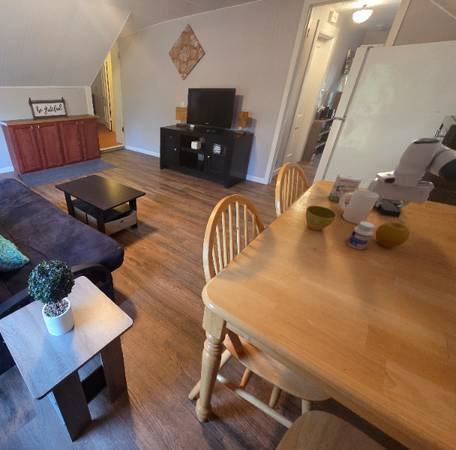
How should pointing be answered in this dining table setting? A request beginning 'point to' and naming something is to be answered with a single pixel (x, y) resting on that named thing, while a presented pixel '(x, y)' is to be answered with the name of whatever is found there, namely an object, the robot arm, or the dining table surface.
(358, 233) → the pill bottle
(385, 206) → the small pad
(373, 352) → the dining table surface
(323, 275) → the dining table surface
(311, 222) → the flower pot
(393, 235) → the apple
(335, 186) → the ink box
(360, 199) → the mug
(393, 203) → the big pad
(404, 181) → the robot arm
